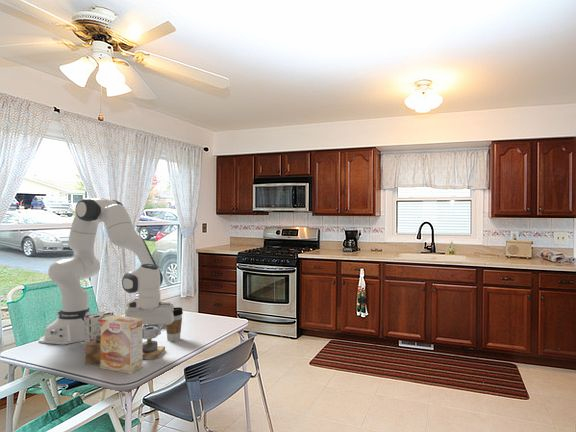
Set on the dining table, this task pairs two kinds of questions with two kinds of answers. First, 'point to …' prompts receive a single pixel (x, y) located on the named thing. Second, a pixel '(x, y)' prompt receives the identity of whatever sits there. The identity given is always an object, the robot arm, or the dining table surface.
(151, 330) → the faceted octagonal planter
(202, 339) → the dining table surface
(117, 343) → the coffeecake box
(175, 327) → the coffee cup
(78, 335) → the robot arm
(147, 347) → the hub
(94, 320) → the candy bar box
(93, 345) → the stand
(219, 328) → the dining table surface
